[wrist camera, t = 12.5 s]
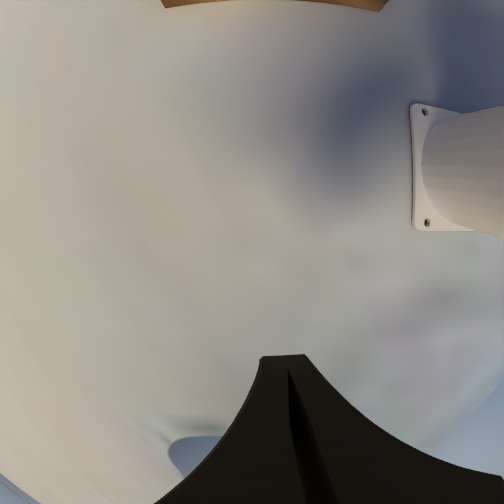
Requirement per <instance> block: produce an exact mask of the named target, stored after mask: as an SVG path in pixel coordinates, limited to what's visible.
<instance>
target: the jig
mask: <svg viewBox="0 0 504 504" xmlns="http://www.w3.org/2000/svg"><path fill="white" fill-rule="evenodd" d="M214 1H227V0H161V2H162V3H163V5H164V7H165V8H170V7H175V6H182V5H188V4H196V3H204V2H214ZM300 1H312V2H322V3H330V4H338V5H345V6H351V7H357V8H362V9H367V10H372V11H377V12H379V11H380V10H381V8H382V7H383V6H384V5H385V4H386V2H387V1H388V0H300Z"/></svg>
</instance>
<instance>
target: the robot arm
mask: <svg viewBox="0 0 504 504" xmlns="http://www.w3.org/2000/svg"><path fill="white" fill-rule="evenodd" d="M422 109H423V110H424V111H425V115H423V113H422ZM410 120H411V134H412V154H413V210H412V225H413V227H414V228H415V229H417V230H445V231H481V232H484V233H487V234H490V235H493V236H496V237H500V238H503V239H504V105H503V106H498V107H493V108H488V109H484V110H479V111H475V112H470V113H466V114H461V113H457V112H453V111H450V110H446V109H441V108H437V107H433V106H428V105H424V104H419V103H415V104H413V105H411V106H410ZM425 219H427V224H426V225H424V221H425ZM154 504H504V480H503V478H502V477H501V476H498V475H493V474H488V473H484V472H479V471H474V470H471V469H466V468H463V467H459V466H456V465H454V464H451V463H448V462H445V461H442V460H440V459H437V458H435V457H432V456H430V455H428V454H426V453H423V452H421V451H419V450H418V449H416V448H414V447H412V446H410V445H408V444H406V443H404V442H402V441H400V440H399V439H397V438H395V437H394V436H392V435H390V434H389V433H387V432H386V431H384V430H383V429H381V428H380V427H379V426H377V425H376V424H374V423H373V422H372V421H370V420H369V419H368V418H366V417H365V416H364V415H363V414H362V413H360V412H359V411H358V410H357V409H356V408H355V407H353V406H352V405H351V404H350V403H349V402H348V401H347V400H346V399H345V398H344V397H343V396H342V395H341V394H340V393H339V392H338V391H337V390H336V389H335V388H334V387H333V386H332V385H331V384H330V383H329V382H328V381H327V380H326V379H325V378H324V376H323V375H322V374H321V373H320V372H319V371H318V369H317V368H316V367H315V366H314V365H313V363H312V362H311V361H310V360H309V358H308V357H307V356H306V355H305V354H300V355H282V356H263V357H262V358H261V359H260V360H259V367H258V371H257V374H256V377H255V380H254V382H253V385H252V387H251V389H250V391H249V394H248V396H247V398H246V400H245V402H244V404H243V406H242V407H241V409H240V411H239V412H238V414H237V416H236V417H235V419H234V421H233V422H232V424H231V425H230V427H229V428H228V430H227V431H226V433H225V434H224V436H223V437H222V438H221V440H220V441H219V442H218V443H217V445H216V446H215V447H214V448H213V450H212V451H211V452H210V453H209V454H208V455H207V456H206V458H205V459H204V460H203V461H202V462H201V463H200V464H199V465H198V466H197V467H196V468H195V469H194V470H193V471H192V472H191V473H190V474H189V475H188V476H187V477H186V478H185V479H184V480H183V481H181V482H180V483H179V484H178V485H177V486H176V487H174V488H173V489H172V490H171V491H170V492H168V493H167V494H166V495H165V496H163V497H162V498H161V499H160V500H158V501H157V502H155V503H154Z"/></svg>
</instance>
